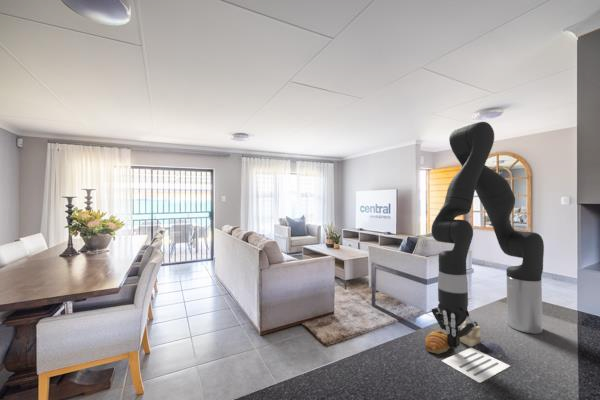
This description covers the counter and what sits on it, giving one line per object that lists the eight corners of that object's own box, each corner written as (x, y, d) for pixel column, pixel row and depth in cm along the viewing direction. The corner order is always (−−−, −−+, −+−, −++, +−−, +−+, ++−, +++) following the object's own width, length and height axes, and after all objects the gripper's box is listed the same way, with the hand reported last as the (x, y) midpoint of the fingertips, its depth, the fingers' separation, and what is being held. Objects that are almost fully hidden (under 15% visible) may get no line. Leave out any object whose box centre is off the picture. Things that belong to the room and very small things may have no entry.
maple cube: (464, 335, 86) (463, 320, 86) (480, 342, 81) (480, 326, 81) (454, 339, 83) (454, 323, 83) (470, 347, 79) (470, 330, 79)
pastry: (445, 359, 73) (444, 345, 73) (419, 350, 78) (419, 338, 78) (452, 345, 80) (452, 333, 80) (429, 338, 85) (429, 326, 85)
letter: (471, 347, 78) (471, 347, 78) (510, 366, 69) (510, 365, 69) (441, 360, 72) (441, 360, 72) (479, 383, 63) (479, 382, 63)
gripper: (484, 292, 72) (485, 355, 72) (439, 279, 84) (440, 334, 84) (468, 296, 69) (469, 363, 68) (424, 283, 80) (425, 340, 80)
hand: (453, 347), depth 76 cm, fingers closed
